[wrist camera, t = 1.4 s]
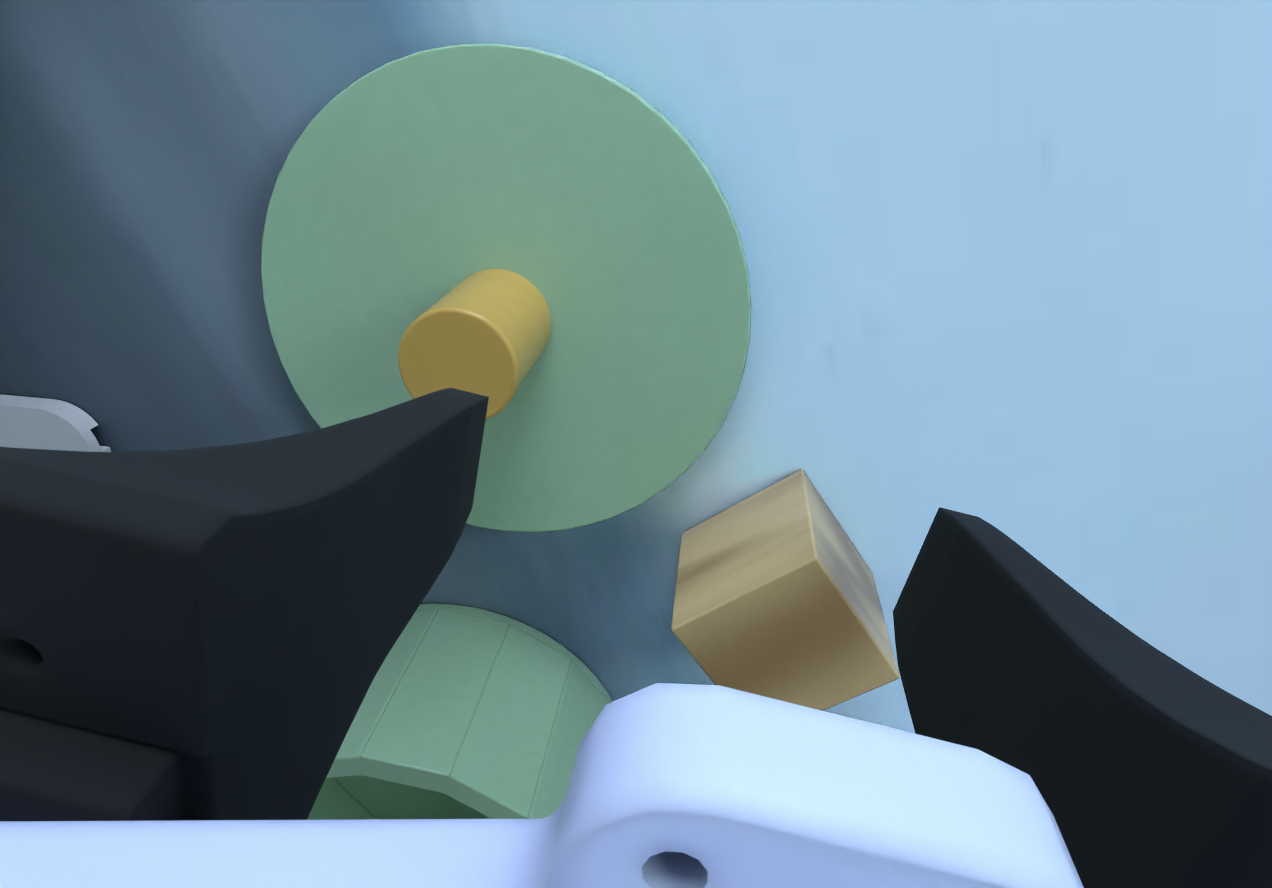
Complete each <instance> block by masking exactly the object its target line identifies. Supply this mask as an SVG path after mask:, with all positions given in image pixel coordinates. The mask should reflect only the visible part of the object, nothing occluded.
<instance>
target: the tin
mask: <svg viewBox="0 0 1272 888" xmlns="http://www.w3.org/2000/svg"><path fill="white" fill-rule="evenodd" d="M611 702H613V701H612V699H611V698H610V696H609V694H608V692H607V691H606V689H605V688H604V687H603V685H602V684H601V683H600V681H599V680H598V679H597V677H596V676H595V675H594V674H593V673H592V672H591V671H590V670H589V669H588V668H587V666H586V665H585V664H584V663H583V662H582V661H581V660H580V659H578V658H577V657H576V656H575V655H574V654H572V653H571V652H570V651H569V650H567V649H566V648H565V647H564V646H562V645H561V644H559V643H558V642H556V641H555V640H553V639H552V638H550V637H549V636H547V635H546V634H544V633H542V632H540V631H538V630H536V629H534V628H532V627H530V626H528V625H526V624H524V623H522V622H520V621H517V620H514V619H512V618H509V617H507V616H504V615H501V614H498V613H494V612H490V611H487V610H483V609H479V608H474V607H468V606H461V605H455V604H436V603H429V604H420V605H419V607H418V608H417V610H416V611H415V613H414V615H413V616H412V618H411V619H410V621H409V622H408V624H407V625H406V627H405V629H404V630H403V632H402V633H401V635H400V636H399V638H398V639H397V641H396V642H395V644H394V646H393V647H392V649H391V650H390V652H389V653H388V655H387V657H386V658H385V660H384V662H383V663H382V665H381V667H380V669H379V670H378V672H377V674H376V676H375V677H374V679H373V681H372V683H371V685H370V687H369V689H368V691H367V693H366V695H365V697H364V699H363V702H362V704H361V706H360V708H359V710H358V712H357V714H356V716H355V718H354V720H353V722H352V724H351V726H350V728H349V730H348V732H347V734H346V736H345V738H344V741H343V743H342V745H341V747H340V749H339V751H338V753H337V756H336V758H335V760H334V762H333V764H332V766H331V768H330V770H329V773H328V775H327V777H326V779H325V781H324V783H323V785H322V788H321V790H320V792H319V794H318V796H317V799H316V801H315V803H314V805H313V807H312V810H311V812H310V814H309V816H308V819H307V820H365V819H542V818H545V817H547V816H550V815H552V814H553V813H554V812H555V811H556V810H557V809H558V808H559V807H560V805H561V803H562V801H563V798H564V796H565V794H566V792H567V790H568V787H569V783H570V779H571V775H572V772H573V768H574V764H575V760H576V756H577V752H578V748H579V744H580V742H581V740H582V739H583V737H584V736H585V735H586V733H587V732H588V730H589V729H590V727H591V726H592V724H593V723H594V721H595V720H596V718H597V717H598V715H599V714H600V712H601V711H602V710H603V708H604V707H605V705H606V704H609V703H611Z"/></svg>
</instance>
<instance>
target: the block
mask: <svg viewBox="0 0 1272 888" xmlns="http://www.w3.org/2000/svg"><path fill="white" fill-rule="evenodd" d="M671 630H672V631H673V633H674V634H675V635H676V636H677V638H678V639H679V640H680V642H681V643H682V644H683V645H684V647H685V648H686V649H687V650H688V652H689V653H690V654H691V655H692V657H693V658H694V659H695V660H696V662H697V663H698V664H699V665H700V667H701V668H702V669H703V670H704V672H705V673H706V674H707V675H708V677H709V678H710V679H711V681H712V682H713V683H714V684H715V685H720V686H724V687H728V688H732V689H736V690H740V691H744V692H748V693H752V694H756V695H760V696H764V697H768V698H772V699H777V700H781V701H785V702H789V703H793V704H797V705H801V706H805V707H809V708H813V709H817V710H821V711H823V710H826V709H828V708H830V707H833V706H835V705H837V704H840V703H842V702H845V701H847V700H849V699H852V698H854V697H856V696H859V695H861V694H863V693H866V692H868V691H871V690H873V689H875V688H878V687H880V686H882V685H885V684H887V683H889V682H892V681H894V680H897V679H898V678H899V677H900V676H899V672H898V668H897V664H896V660H895V657H894V653H893V649H892V645H891V641H890V638H889V634H888V630H887V626H886V623H885V619H884V615H883V611H882V608H881V604H880V600H879V596H878V593H877V589H876V585H875V581H874V578H873V574H872V571H871V570H870V568H869V567H868V565H867V564H866V563H865V561H864V560H863V558H862V557H861V555H860V554H859V552H858V551H857V549H856V548H855V546H854V545H853V543H852V542H851V540H850V539H849V537H848V536H847V534H846V533H845V531H844V530H843V528H842V527H841V525H840V524H839V522H838V521H837V519H836V518H835V516H834V515H833V513H832V512H831V511H830V509H829V508H828V506H827V505H826V503H825V502H824V500H823V499H822V497H821V496H820V494H819V493H818V491H817V490H816V488H815V487H814V485H813V484H812V482H811V481H810V479H809V478H808V476H807V475H806V473H805V472H804V470H802V469H801V470H799V471H797V472H795V473H793V474H791V475H789V476H787V477H786V478H784V479H782V480H780V481H778V482H776V483H774V484H772V485H771V486H769V487H767V488H765V489H763V490H761V491H759V492H758V493H756V494H754V495H752V496H750V497H748V498H746V499H744V500H743V501H741V502H739V503H737V504H735V505H733V506H731V507H730V508H728V509H726V510H724V511H722V512H720V513H718V514H716V515H715V516H713V517H711V518H709V519H707V520H705V521H703V522H702V523H700V524H698V525H696V526H694V527H692V528H690V529H688V530H687V531H685V532H683V533H682V535H681V544H680V553H679V562H678V571H677V580H676V589H675V598H674V606H673V615H672V624H671Z"/></svg>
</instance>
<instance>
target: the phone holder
mask: <svg viewBox="0 0 1272 888" xmlns="http://www.w3.org/2000/svg"><path fill="white" fill-rule="evenodd" d="M97 425H98V424H97V423H96V421H95V420H94V419H93V418H92V417H90V416H89V415H88V414H87V413H86V412H84V411H83V410H81V409H80V408H78V407H76V406H74V405H72V404H70V403H67V402H65V401H61V400H55V399H45V398H34V397H23V396H12V395H2V394H0V447H11V448H28V449H46V450H65V451H84V452H111V449H110V447H106V446H100V445H99V443H98V441H97V439H96V438H95V436H94V434H93V433H92V432H91V430H90V429H92V428H94V427H96V426H97Z"/></svg>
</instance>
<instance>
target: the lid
mask: <svg viewBox="0 0 1272 888" xmlns="http://www.w3.org/2000/svg"><path fill="white" fill-rule="evenodd" d="M261 276H262V287H263V298H264V305H265V309H266V314H267V318H268V323H269V328H270V332H271V335H272V338H273V341H274V344H275V347H276V349H277V352H278V355H279V358H280V361H281V363H282V365H283V367H284V369H285V371H286V373H287V376H288V378H289V380H290V382H291V384H292V386H293V388H294V390H295V391H296V393H297V395H298V396H299V398H300V399H301V401H302V403H303V404H304V406H305V407H306V409H307V411H308V412H309V414H310V415H311V417H312V418H313V419H314V420H315V422H316V423H317V424H318V425H319V427H320V428H321V429H322V428H325V427H328V426H332V425H335V424H339V423H342V422H345V421H349V420H352V419H356V418H359V417H362V416H366V415H369V414H372V413H375V412H378V411H381V410H384V409H387V408H389V407H392V406H395V405H398V404H401V403H404V402H407V401H409V400H412V399H415V398H418V397H421V396H423V395H426V394H429V393H432V392H435V391H439V390H442V389H447V388H455V389H459V390H463V391H467V392H471V393H475V394H479V395H483V396H487V397H489V400H488V406H487V413H486V420H485V426H484V433H483V440H482V446H481V453H480V460H479V467H478V473H477V480H476V487H475V493H474V500H473V507H472V510H471V512H470V515H469V517H468V519H467V521H466V524H470V525H473V526H477V527H482V528H489V529H495V530H502V531H514V532H545V531H558V530H566V529H571V528H576V527H581V526H586V525H591V524H594V523H597V522H600V521H603V520H606V519H609V518H612V517H615V516H617V515H619V514H622V513H624V512H626V511H628V510H630V509H632V508H634V507H636V506H638V505H640V504H642V503H644V502H645V501H647V500H648V499H650V498H651V497H653V496H655V495H656V494H658V493H659V492H661V491H662V490H664V489H665V488H667V487H668V486H669V485H670V484H671V483H672V482H674V481H675V480H676V479H677V478H678V477H679V476H680V475H682V474H683V473H684V472H685V471H686V470H687V469H688V468H689V467H690V466H691V465H692V464H693V463H694V461H695V460H696V459H697V458H698V457H699V456H700V455H701V454H702V452H703V451H704V450H705V449H706V448H707V446H708V445H709V443H710V442H711V440H712V439H713V437H714V436H715V434H716V433H717V431H718V430H719V428H720V427H721V425H722V423H723V421H724V419H725V417H726V415H727V413H728V411H729V409H730V407H731V405H732V403H733V401H734V399H735V396H736V393H737V390H738V387H739V384H740V381H741V378H742V375H743V372H744V368H745V363H746V357H747V351H748V346H749V340H750V324H751V296H750V286H749V276H748V267H747V263H746V258H745V254H744V250H743V246H742V241H741V237H740V234H739V231H738V228H737V226H736V223H735V221H734V218H733V215H732V213H731V210H730V207H729V205H728V202H727V200H726V199H725V197H724V195H723V193H722V191H721V189H720V187H719V186H718V184H717V182H716V180H715V178H714V176H713V174H712V173H711V171H710V169H709V168H708V167H707V165H706V164H705V163H704V161H703V160H702V158H701V157H700V156H699V154H698V153H697V152H696V150H695V149H694V147H693V146H692V145H691V143H690V142H689V141H688V140H687V139H686V138H685V137H684V135H683V134H682V133H681V132H680V131H679V130H678V129H677V128H676V127H675V126H674V125H673V124H672V123H671V122H670V121H669V120H668V119H667V118H666V117H665V115H663V114H662V113H661V112H660V111H658V110H657V109H656V108H655V107H654V106H652V105H651V104H650V103H649V102H647V101H646V100H645V99H644V98H642V97H641V96H640V95H639V94H637V93H636V92H635V91H633V90H632V89H630V88H628V87H627V86H625V85H623V84H622V83H620V82H618V81H617V80H615V79H613V78H612V77H610V76H608V75H607V74H605V73H603V72H601V71H599V70H597V69H594V68H592V67H590V66H587V65H585V64H583V63H580V62H578V61H576V60H573V59H571V58H568V57H565V56H561V55H557V54H554V53H550V52H546V51H543V50H539V49H535V48H529V47H521V46H512V45H504V44H457V45H452V46H446V47H440V48H435V49H429V50H424V51H420V52H417V53H414V54H412V55H409V56H406V57H403V58H400V59H397V60H394V61H391V62H389V63H387V64H385V65H383V66H381V67H380V68H378V69H376V70H374V71H372V72H370V73H368V74H366V75H365V76H363V77H361V78H359V79H358V80H357V81H355V82H354V83H353V84H351V85H350V86H349V87H347V88H346V89H345V90H343V91H342V92H341V93H339V94H338V95H337V96H335V97H334V98H333V99H332V100H331V101H330V102H329V103H328V104H327V105H326V106H325V107H324V108H323V109H322V110H321V111H320V112H319V113H318V114H317V115H316V117H315V118H314V119H313V120H312V121H311V122H310V123H309V125H308V126H307V127H306V129H305V130H304V132H303V133H302V135H301V136H300V137H299V139H298V140H297V142H296V143H295V145H294V146H293V147H292V149H291V151H290V153H289V155H288V157H287V159H286V161H285V163H284V165H283V167H282V169H281V171H280V173H279V175H278V177H277V181H276V184H275V187H274V190H273V193H272V196H271V199H270V202H269V205H268V209H267V214H266V220H265V226H264V231H263V237H262V257H261Z"/></svg>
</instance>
